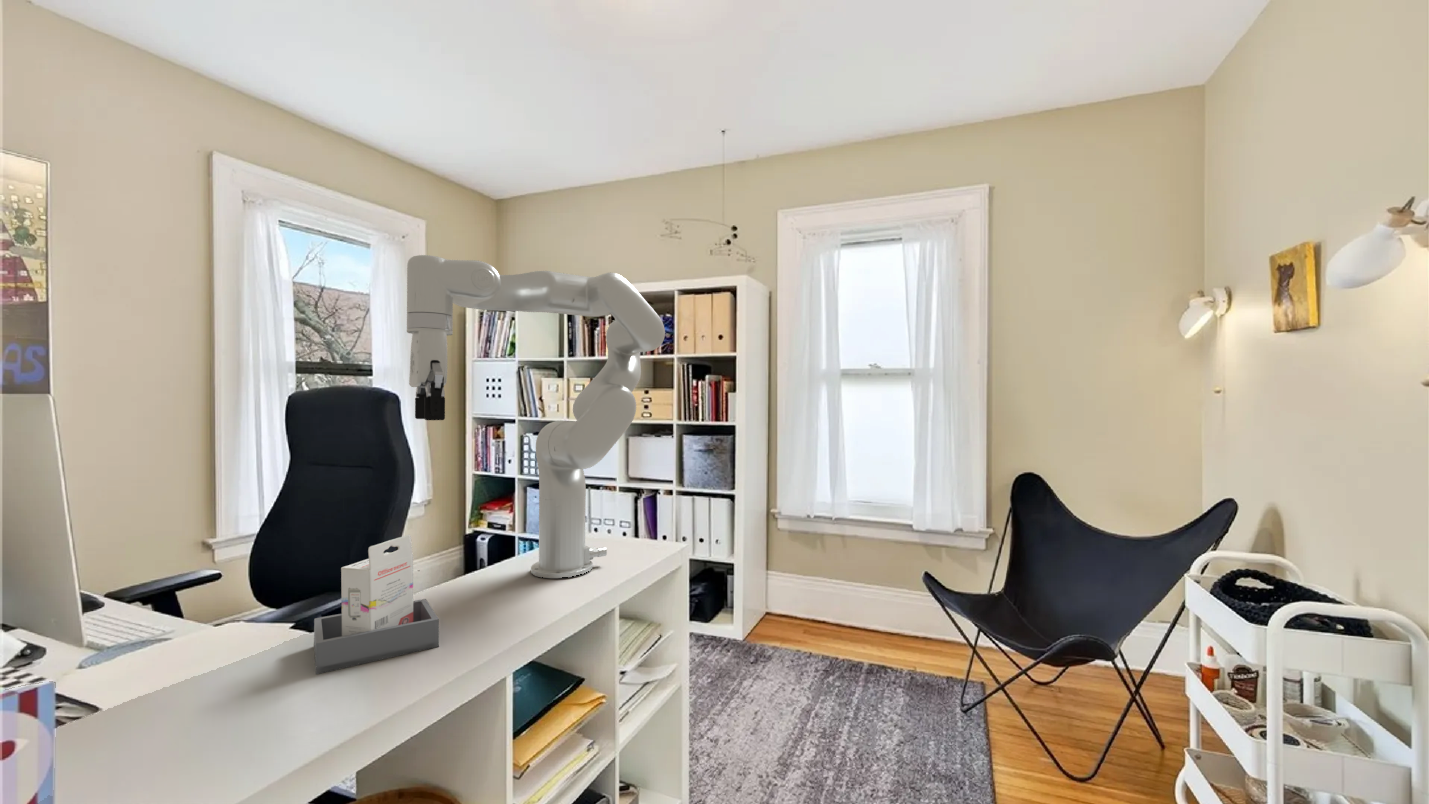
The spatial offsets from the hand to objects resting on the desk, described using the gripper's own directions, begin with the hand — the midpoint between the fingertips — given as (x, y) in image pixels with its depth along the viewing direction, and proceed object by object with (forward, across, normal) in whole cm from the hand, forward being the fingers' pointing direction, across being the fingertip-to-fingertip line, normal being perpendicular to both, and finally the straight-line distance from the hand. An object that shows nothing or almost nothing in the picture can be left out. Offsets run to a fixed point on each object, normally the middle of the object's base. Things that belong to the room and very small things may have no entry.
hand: (429, 419), depth 104 cm
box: (+32, +19, -10) cm, 39 cm away
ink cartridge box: (+32, +19, -10) cm, 38 cm away
